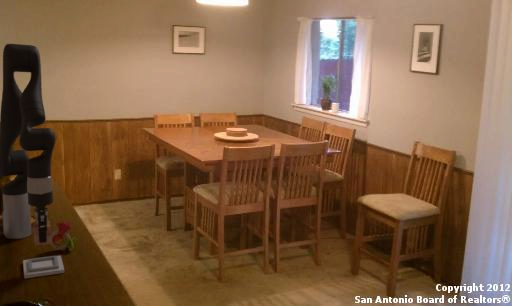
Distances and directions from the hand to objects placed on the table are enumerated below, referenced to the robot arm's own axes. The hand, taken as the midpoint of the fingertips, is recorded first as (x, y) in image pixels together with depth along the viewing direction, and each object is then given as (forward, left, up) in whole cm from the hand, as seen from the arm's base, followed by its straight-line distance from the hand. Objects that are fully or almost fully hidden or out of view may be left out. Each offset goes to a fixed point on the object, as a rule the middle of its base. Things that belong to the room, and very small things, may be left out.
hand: (42, 239), depth 168 cm
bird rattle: (-7, +14, -11) cm, 19 cm away
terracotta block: (0, 0, -1) cm, 1 cm away
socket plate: (0, 0, -10) cm, 10 cm away
